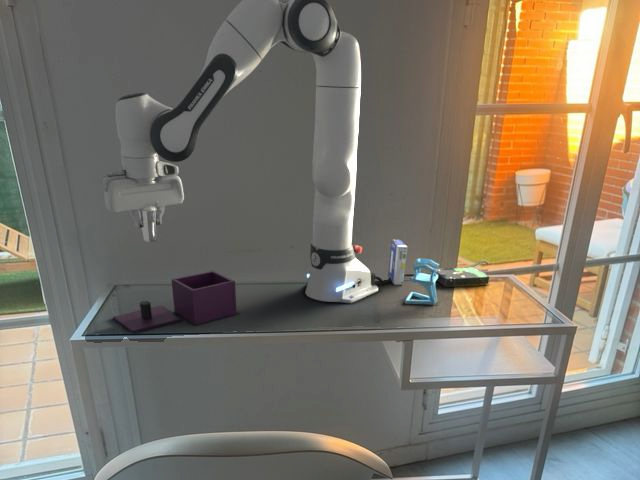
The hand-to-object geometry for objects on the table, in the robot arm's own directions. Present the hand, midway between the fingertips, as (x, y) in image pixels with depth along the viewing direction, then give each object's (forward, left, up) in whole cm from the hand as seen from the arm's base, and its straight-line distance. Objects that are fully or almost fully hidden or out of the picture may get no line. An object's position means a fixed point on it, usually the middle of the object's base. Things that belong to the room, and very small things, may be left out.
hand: (148, 225), depth 153 cm
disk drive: (-85, +39, -20) cm, 95 cm away
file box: (-6, +16, -20) cm, 26 cm away
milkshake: (0, 0, -4) cm, 4 cm away
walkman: (-68, +27, -20) cm, 76 cm away
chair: (-61, +44, -20) cm, 78 cm away
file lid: (+9, +11, -20) cm, 25 cm away
